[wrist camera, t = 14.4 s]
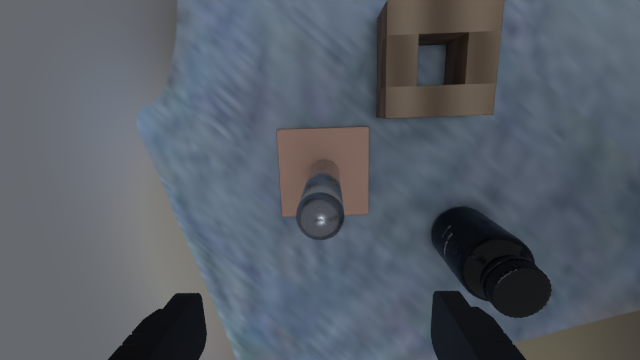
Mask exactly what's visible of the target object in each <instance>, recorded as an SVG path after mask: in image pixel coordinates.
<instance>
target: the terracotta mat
mask: <svg viewBox="0 0 640 360" xmlns="http://www.w3.org/2000/svg"><path fill="white" fill-rule="evenodd" d="M277 142H278V157H279V172H280V187H281V203H282V217H283V216H296V212H297V208H298V205H299V202H300V199H301V196H302V193H303V190H304V187H305V185H306V182H307V179H308V176H309V173H310V170H311V168H312V166H313V164H314V163H315V162H317V161H319V160H322V159H327V160H330V161H332V162H334V163H335V164H336V166H337V167H338V170H339V177H340V185H341V192H342V199H343V207H344V215H368V174H369V127H337V128H305V129H278V130H277Z"/></svg>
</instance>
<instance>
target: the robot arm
mask: <svg viewBox="0 0 640 360" xmlns="http://www.w3.org/2000/svg"><path fill="white" fill-rule="evenodd" d="M206 335H207V331H206V324H205V316H204V309H203V302H202V297H201V295H200V294H199V293H177V294H175V295H174V296H173V297H172V298H171V300H170V301H169V302H168V303H167V305H166V306H165V307H164V308H163V309H158V310H156V311H155V312H153V313H152V314H151V315H149V316H148V317H146V318H145V319H143V320H142V322H141V323H140V324H139V325H138V326H137V327H136V328H135V329H134V331H133V332H132V335H129V336H128V337H127V338H126V340H125V341H124V342H123V344H122V346H120V347H119V348H118V349H117V350H116V351H115V352H114V353H113V354H112V356H111V357H110V358H109V359H108V360H199V358H200V356H201V354H202V352H203V350H204V347H205V343H206ZM431 339H432V344H433V348H434V351H435V353H436V356H437V358H438V360H526V359H525V358H524V356H523V355H522V354H521V353H520V351H519V350H518V349H517V347H516V346H515V345H513V344H512V341H511V340H510V339H509V337H508V336H507V335H506V334H505V333H504V332H503V330H502V328H501V327H500V326H499V325H498V323H497V322H496V321H495V320H494V318H493V317H491V316H490V315H489V314H487V313H486V312H484V311H483V310H482V309H480V308H479V307H470V305H469V304H468V302H467V301H466V300H465V298H464V297H463V296H462V294H461V293H460V292H459V291H435V292H434V294H433V304H432V319H431Z"/></svg>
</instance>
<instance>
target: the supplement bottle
mask: <svg viewBox="0 0 640 360" xmlns="http://www.w3.org/2000/svg"><path fill="white" fill-rule="evenodd" d="M432 241H433V244H434V247H435V248H436V250H437V251H438V253H439V254H440V256H441V257H442V258H443V260H444V261H445V262H446V264H447V265H448V266H449V268H450V269H451V270H452V272H453V273H454V274H455V276H456V277H457V278H458V280H459V281H460V282H461V284H462V285H463V286H464V287H465V288H466V290H467V291H468V292H469V293H471V294H472V295H473V296H475V297H477V298H479V299H481V300H485V301H489V302H490V303H492V305H493V306H494V307H495V308H496V309H497V310H498V311H499V312H500V313H502V314H504V315H505V316H509V317H514V318H518V317H519V318H522V317H528V316H529V315H533V314H534V313H537V312H538V311H539V310H541V309H542V308H543V306H545V305H546V303H547V302H548V301H549V297H550V296H551V291H552V289H551V284H550V280H549V279H548V277H547V276H546V275H545V274H544V273H543V272H542V271H541V270H540V269H539V268H538V267H537V266H536V265H535V260H534V257H533V254H532V252H531V251H530V249H529V248H528V247H527V246H526V245H525V244H524V243H523V242H522V241H521V240H519V239H518V238H516V237H515V236H513V235H512V234H511V233H509V232H508V231H506V230H505V229H503V228H502V227H501V226H499V225H498V224H496V223H495V222H493V221H492V220H491V219H489V218H488V217H486V216H485V215H483V214H482V213H480V212H479V211H477V210H475V209H472V208H466V207H461V208H455V209H452V210H450V211H448V212H446V213H444V214H443V215H442V216H441V217H440V218H439V219H438V220H437V222H436V223H435V225H434V227H433V231H432Z"/></svg>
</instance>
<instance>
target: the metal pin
mask: <svg viewBox="0 0 640 360" xmlns="http://www.w3.org/2000/svg"><path fill="white" fill-rule="evenodd" d="M296 220H297V224H298V226H299V228H300V230H301V231H302V232H303V233H304V234H305V235H306V236H308V237H309V238H312V239H315V240H325V239H329V238H331V237H333V236H334V235H336V234H337V233H338V232H339V231H340V229H341V227H342V225H343V223H344V207H343V199H342V192H341V185H340V177H339V170H338V167H337V166H336V164H335V163H334V162H332V161H330V160H327V159H322V160H319V161H317V162H315V163H314V164H313V166H312V168H311V170H310V173H309V176H308V179H307V182H306V185H305V187H304V190H303V193H302V196H301V199H300V202H299V205H298V208H297V212H296Z"/></svg>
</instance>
